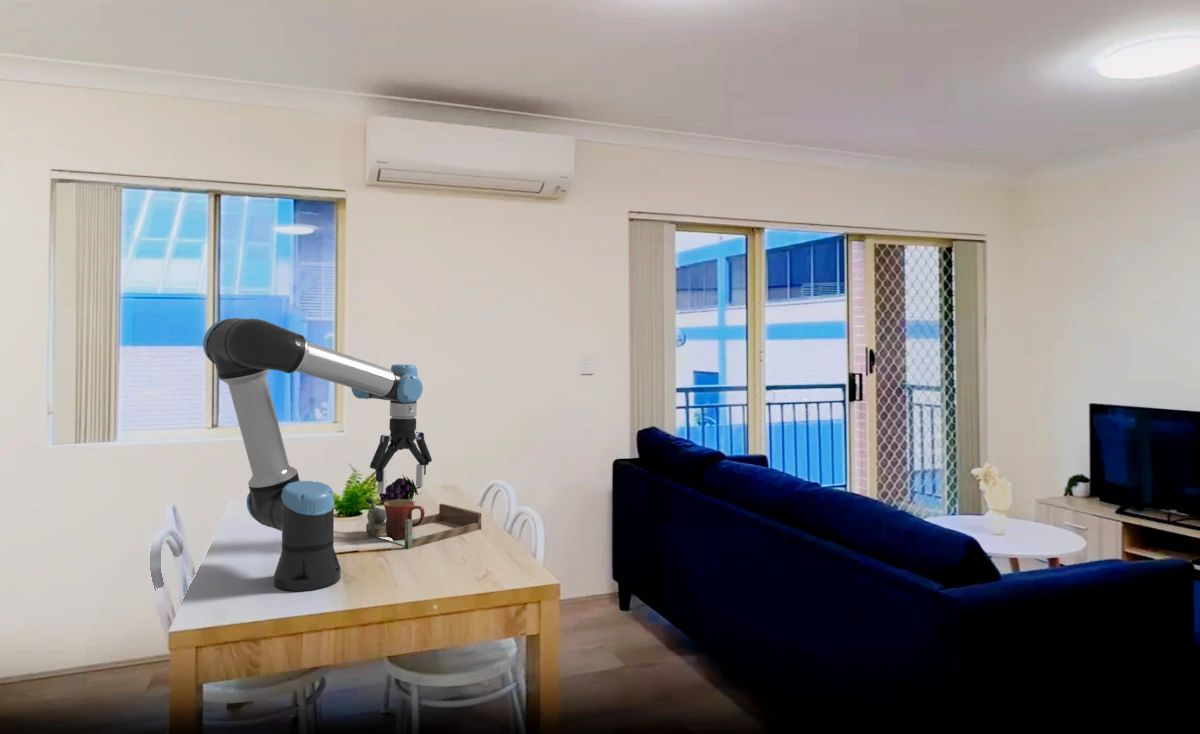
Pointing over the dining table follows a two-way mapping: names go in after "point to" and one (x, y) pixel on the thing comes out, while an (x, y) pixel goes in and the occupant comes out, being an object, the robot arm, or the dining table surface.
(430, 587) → the dining table surface
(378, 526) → the tray
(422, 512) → the mug
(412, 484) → the fruit
